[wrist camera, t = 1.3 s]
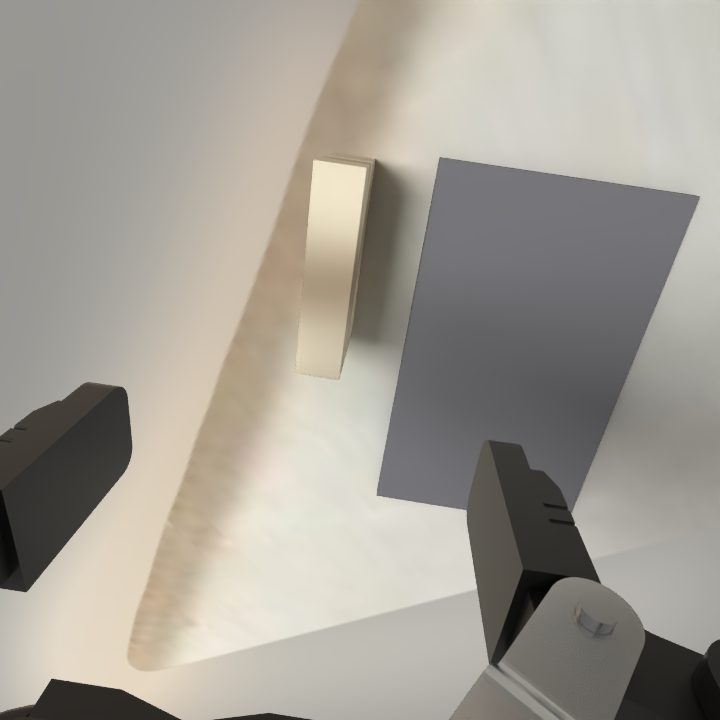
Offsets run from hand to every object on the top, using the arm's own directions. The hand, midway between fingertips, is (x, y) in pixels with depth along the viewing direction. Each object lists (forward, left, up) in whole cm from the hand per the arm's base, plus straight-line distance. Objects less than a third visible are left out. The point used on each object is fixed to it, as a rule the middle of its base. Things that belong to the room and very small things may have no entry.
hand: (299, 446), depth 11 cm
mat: (+4, +9, -16) cm, 19 cm away
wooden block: (-1, -1, -17) cm, 17 cm away
